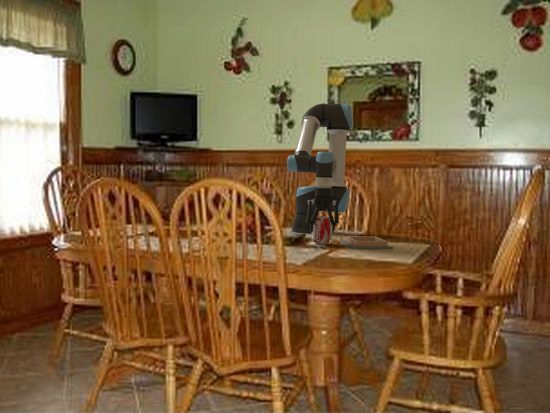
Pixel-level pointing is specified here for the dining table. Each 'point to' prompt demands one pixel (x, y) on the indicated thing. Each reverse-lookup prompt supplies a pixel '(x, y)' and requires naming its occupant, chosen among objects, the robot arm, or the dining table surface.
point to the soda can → (322, 230)
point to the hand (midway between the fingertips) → (321, 239)
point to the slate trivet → (365, 242)
